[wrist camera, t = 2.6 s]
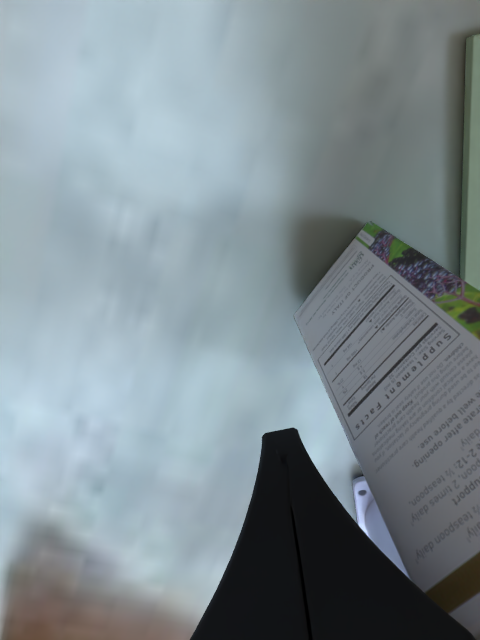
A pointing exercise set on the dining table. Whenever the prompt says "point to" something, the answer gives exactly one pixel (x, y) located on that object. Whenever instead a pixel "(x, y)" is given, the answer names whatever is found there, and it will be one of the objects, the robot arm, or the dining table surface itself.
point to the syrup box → (408, 403)
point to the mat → (471, 168)
